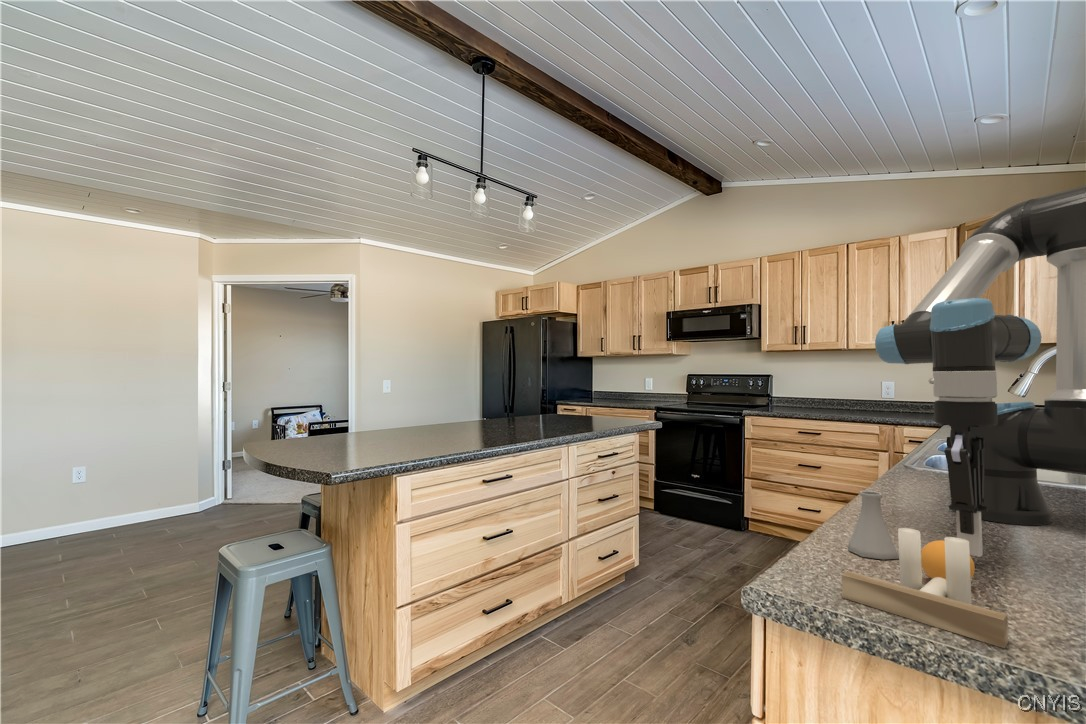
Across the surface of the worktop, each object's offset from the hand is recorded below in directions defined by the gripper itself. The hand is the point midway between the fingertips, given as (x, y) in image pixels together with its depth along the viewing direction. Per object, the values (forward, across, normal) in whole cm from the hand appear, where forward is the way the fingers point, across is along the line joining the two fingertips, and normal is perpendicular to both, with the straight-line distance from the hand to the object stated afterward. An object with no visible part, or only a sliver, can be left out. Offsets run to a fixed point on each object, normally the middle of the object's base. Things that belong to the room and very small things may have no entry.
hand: (970, 553), depth 76 cm
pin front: (+1, +16, 0) cm, 16 cm away
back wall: (+2, +26, 0) cm, 26 cm away
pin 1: (+2, +18, -2) cm, 19 cm away
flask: (+2, +5, -12) cm, 13 cm away
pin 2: (+2, +18, +2) cm, 19 cm away
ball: (-1, +11, 0) cm, 11 cm away
